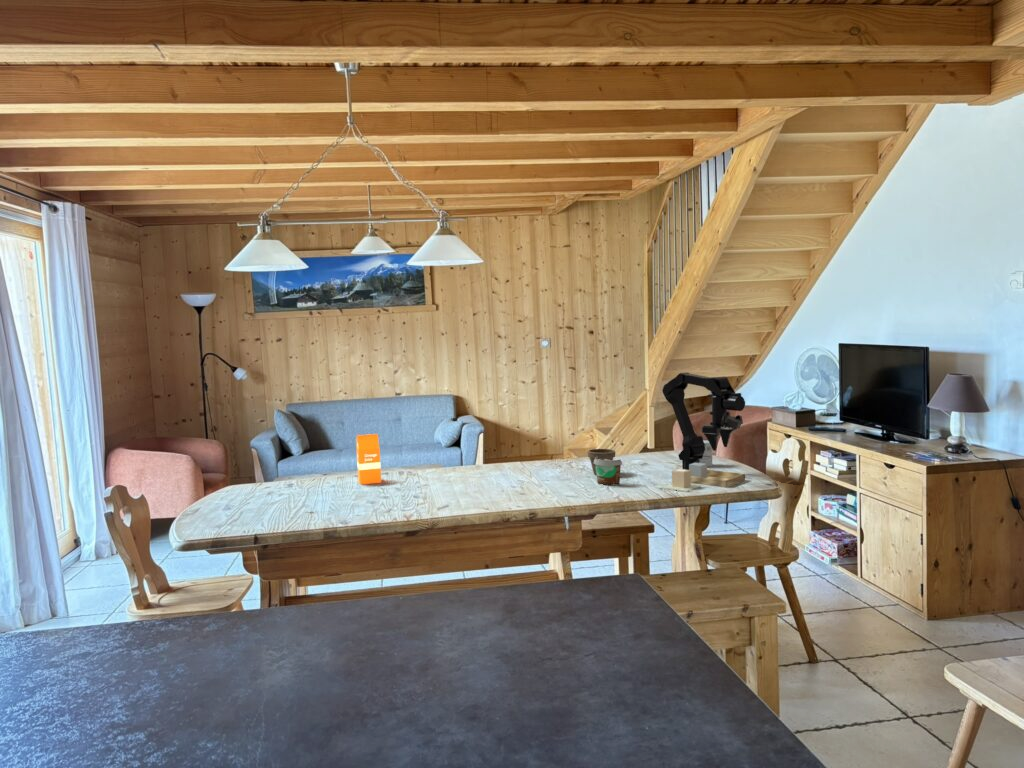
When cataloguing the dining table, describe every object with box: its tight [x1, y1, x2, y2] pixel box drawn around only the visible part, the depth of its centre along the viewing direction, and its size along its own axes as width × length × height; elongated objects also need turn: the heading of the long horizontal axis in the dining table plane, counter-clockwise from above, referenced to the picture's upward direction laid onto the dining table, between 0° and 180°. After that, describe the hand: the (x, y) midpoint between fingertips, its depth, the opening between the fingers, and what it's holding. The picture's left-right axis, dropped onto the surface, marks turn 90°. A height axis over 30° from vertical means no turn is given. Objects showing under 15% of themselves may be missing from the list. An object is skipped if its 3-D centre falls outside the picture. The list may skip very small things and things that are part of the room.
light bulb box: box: [700, 439, 713, 468], centre depth 328 cm, size 11×7×11 cm, turn 84°
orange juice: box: [356, 433, 382, 485], centre depth 319 cm, size 8×9×20 cm
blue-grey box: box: [689, 463, 708, 478], centre depth 299 cm, size 5×5×6 cm
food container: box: [594, 457, 623, 486], centre depth 298 cm, size 12×6×10 cm, turn 47°
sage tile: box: [660, 482, 702, 493], centre depth 288 cm, size 11×11×1 cm
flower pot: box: [587, 448, 616, 476], centre depth 318 cm, size 12×11×10 cm
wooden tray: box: [691, 469, 746, 489], centre depth 296 cm, size 22×16×3 cm
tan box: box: [671, 468, 692, 488], centre depth 287 cm, size 5×5×6 cm
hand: (720, 448), depth 297 cm, fingers open, 9 cm apart
